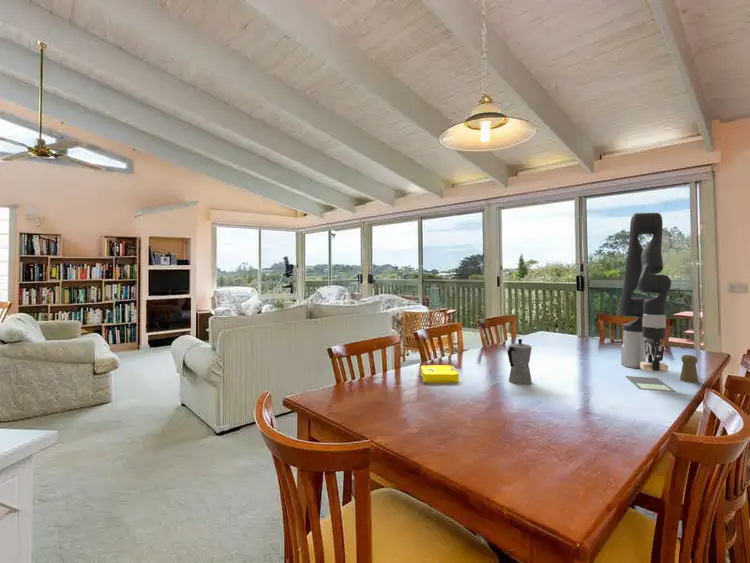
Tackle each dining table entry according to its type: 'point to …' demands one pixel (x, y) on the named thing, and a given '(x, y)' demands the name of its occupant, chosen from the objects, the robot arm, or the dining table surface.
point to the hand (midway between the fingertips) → (653, 368)
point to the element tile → (439, 373)
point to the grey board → (649, 384)
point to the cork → (689, 369)
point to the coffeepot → (519, 363)
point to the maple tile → (648, 366)
